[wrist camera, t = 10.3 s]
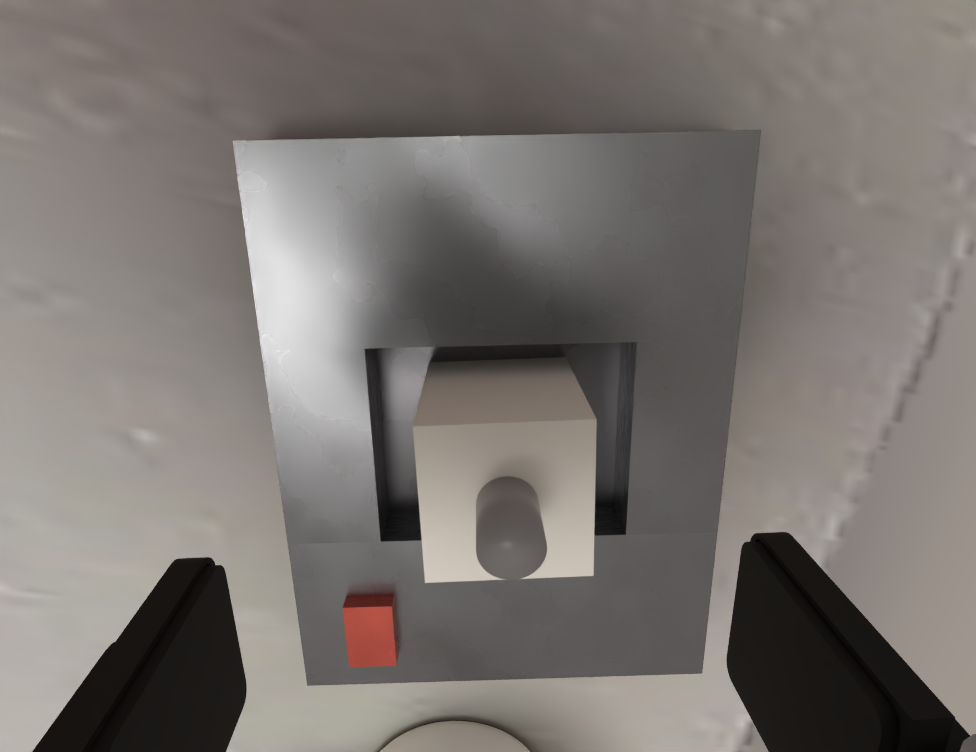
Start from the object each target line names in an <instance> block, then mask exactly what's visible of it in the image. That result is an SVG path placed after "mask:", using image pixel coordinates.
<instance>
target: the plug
mask: <svg viewBox="0 0 976 752" xmlns="http://www.w3.org/2000/svg"><path fill="white" fill-rule="evenodd" d="M596 430H597V419H596V417H595V415H594V413H593V411H592V409H591V407H590V405H589V403H588V401H587V399H586V397H585V395H584V393H583V391H582V389H581V387H580V385H579V383H578V381H577V379H576V377H575V375H574V373H573V371H572V369H571V367H570V365H569V363H568V361H567V359H566V357H553V358H528V359H502V360H477V361H451V362H429V364H428V368H427V372H426V376H425V380H424V384H423V388H422V392H421V396H420V400H419V404H418V408H417V412H416V416H415V420H414V424H413V436H414V449H415V462H416V475H417V487H418V500H419V513H420V526H421V538H422V551H423V564H424V577H425V583H435V582H459V581H483V580H516V579H531V578H555V577H578V576H593V575H594V527H595V478H596Z"/></svg>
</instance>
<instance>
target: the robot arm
mask: <svg viewBox="0 0 976 752" xmlns="http://www.w3.org/2000/svg"><path fill="white" fill-rule="evenodd" d="M727 668H728V673H729V676H730V679H731V681H732V683H733V685H734V687H735V689H736V691H737V692H738V694H739V696H740V698H741V700H742V702H743V704H744V706H745V708H746V709H747V711H748V713H749V715H750V717H751V719H752V721H753V723H754V725H755V726H756V728H757V730H758V732H759V734H760V736H761V738H762V740H763V741H764V743H765V745H766V747H767V749H768V751H769V752H976V734H973V735H972V736H970V735H969V734H968V733H967V732H966V731H965V730H964V728H963V727H962V726H961V725H960V724H959V723H958V722H957V721H956V720H955V717H954V716H953V715H952V714H951V712H950V711H949V710H948V709H947V708H946V707H945V706H944V705H943V704H942V702H941V701H940V700H939V699H938V698H937V697H936V696H935V695H934V693H933V692H932V691H931V690H930V689H929V688H928V687H927V686H926V685H925V683H924V682H923V681H922V680H921V679H920V678H919V677H918V676H917V675H916V673H915V672H914V671H913V670H912V669H911V668H910V667H909V666H908V665H907V663H906V662H905V661H904V660H903V659H902V658H901V657H900V656H899V654H898V653H897V652H896V651H895V650H894V649H893V648H892V647H891V646H890V644H889V643H888V642H887V641H886V640H885V639H884V638H883V637H882V636H881V634H880V633H879V632H878V631H877V630H876V629H875V628H874V627H873V626H872V624H871V623H870V622H869V621H868V620H867V619H866V618H865V617H864V615H863V614H862V613H861V612H860V611H859V610H858V609H857V608H856V607H855V606H854V604H853V603H852V602H851V601H850V600H849V599H848V598H847V597H846V595H845V594H844V593H843V592H842V591H841V590H840V589H839V588H838V587H837V585H835V583H834V582H833V581H832V580H831V579H830V578H829V577H828V575H827V574H826V573H825V572H824V571H823V570H822V569H821V568H820V567H819V565H818V564H817V563H816V562H815V561H814V560H813V559H812V558H811V557H810V555H809V554H808V553H807V552H806V551H805V550H804V549H803V548H802V546H801V545H800V544H799V543H798V542H797V541H796V540H795V539H794V538H793V536H791V535H790V534H789V533H786V532H777V533H756V534H754V535H753V536H752V538H751V540H750V542H745V543H744V544H743V546H742V550H741V557H740V564H739V571H738V579H737V586H736V593H735V601H734V608H733V615H732V623H731V630H730V637H729V645H728V652H727ZM245 698H246V679H245V673H244V668H243V663H242V658H241V652H240V647H239V642H238V636H237V631H236V626H235V621H234V615H233V610H232V605H231V599H230V594H229V589H228V584H227V578H226V573H225V570H224V568H223V566H221V565H216V566H215V563H214V561H213V559H212V558H209V557H206V558H183V559H176V560H175V561H174V562H173V563H172V564H171V565H170V566H169V568H168V569H167V571H166V572H165V573H164V575H163V576H162V578H161V579H160V580H159V582H158V583H157V585H156V586H155V587H154V589H153V590H152V592H151V593H150V594H149V596H148V597H147V599H146V600H145V601H144V603H143V604H142V606H141V607H140V608H139V610H138V611H137V613H136V614H135V615H134V617H133V618H132V620H131V621H130V622H129V624H128V625H127V627H126V628H125V629H124V631H123V632H122V634H121V635H120V636H119V638H118V639H117V641H116V642H114V643H112V644H111V645H110V646H109V647H108V649H107V650H106V651H105V652H104V653H103V655H102V656H101V658H100V659H99V660H98V662H97V663H96V664H95V666H94V667H93V669H92V670H91V671H90V673H89V674H88V676H87V677H86V678H85V680H84V681H83V682H82V684H81V685H80V687H79V688H78V689H77V691H76V692H75V694H74V695H73V696H72V698H71V699H70V700H69V702H68V703H67V705H66V706H65V707H64V709H63V710H62V711H61V713H60V714H59V716H58V717H57V718H56V720H55V721H54V723H53V724H52V725H51V727H50V728H49V729H48V731H47V732H46V734H45V735H44V736H43V738H42V739H41V741H40V742H39V743H38V745H37V746H36V747H35V749H34V750H33V752H226V750H227V747H228V745H229V742H230V740H231V737H232V735H233V732H234V729H235V727H236V724H237V722H238V719H239V717H240V714H241V712H242V709H243V706H244V703H245Z"/></svg>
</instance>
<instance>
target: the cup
mask: <svg viewBox="0 0 976 752" xmlns="http://www.w3.org/2000/svg"><path fill="white" fill-rule="evenodd" d="M380 752H530V751H529V750H528V749H527V748H526V747H525V746H524V745H523V744H522V743H521V742H520V741H518V740H517V739H516V738H514V737H513V736H511V735H509V734H507V733H506V732H504V731H501V730H499V729H497V728H494V727H491V726H488V725H484V724H481V723H475V722H468V721H443V722H436V723H431V724H427V725H423V726H420V727H417V728H415V729H412V730H410V731H408V732H406V733H404V734H402V735H400V736H398V737H397V738H395V739H394V740H393V741H391V742H390V743H389V744H388V745H387V746H385V747H384V748H383V749H382V750H381V751H380Z"/></svg>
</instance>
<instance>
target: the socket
mask: <svg viewBox="0 0 976 752" xmlns="http://www.w3.org/2000/svg"><path fill="white" fill-rule="evenodd" d="M760 134H761V130H742V131H692V132H641V133H591V134H540V135H490V136H439V137H389V138H339V139H288V140H238V141H233V148H234V155H235V163H236V170H237V177H238V184H239V192H240V199H241V206H242V214H243V221H244V228H245V235H246V243H247V250H248V257H249V264H250V272H251V279H252V286H253V293H254V301H255V308H256V315H257V323H258V330H259V337H260V344H261V352H262V359H263V366H264V373H265V381H266V388H267V395H268V402H269V410H270V417H271V424H272V432H273V439H274V446H275V453H276V461H277V468H278V475H279V482H280V490H281V497H282V504H283V512H284V519H285V526H286V533H287V541H288V548H289V555H290V562H291V570H292V577H293V584H294V591H295V599H296V606H297V613H298V621H299V628H300V635H301V642H302V650H303V657H304V664H305V671H306V679H307V686H309V685H342V684H374V683H407V682H439V681H471V680H504V679H536V678H569V677H601V676H634V675H666V674H699V673H702V669H703V660H704V651H705V642H706V632H707V623H708V614H709V605H710V595H711V586H712V577H713V568H714V558H715V549H716V540H717V531H718V522H719V512H720V503H721V494H722V485H723V475H724V466H725V457H726V448H727V438H728V429H729V420H730V411H731V402H732V392H733V383H734V374H735V365H736V355H737V346H738V337H739V328H740V318H741V309H742V300H743V291H744V282H745V272H746V263H747V254H748V245H749V235H750V226H751V217H752V208H753V199H754V189H755V180H756V171H757V162H758V152H759V143H760ZM553 357H566V359H567V361H568V363H569V365H570V367H571V369H572V371H573V373H574V375H575V377H576V379H577V381H578V383H579V385H580V387H581V389H582V391H583V393H584V395H585V397H586V399H587V401H588V403H589V405H590V407H591V409H592V411H593V413H594V415H595V417H596V419H597V430H596V478H595V527H594V575H593V576H578V577H555V578H531V579H516V580H483V581H459V582H435V583H425V577H424V564H423V551H422V538H421V526H420V513H419V500H418V487H417V475H416V462H415V449H414V436H413V424H414V420H415V416H416V412H417V408H418V404H419V400H420V396H421V392H422V388H423V384H424V380H425V376H426V372H427V368H428V364H429V362H451V361H477V360H502V359H528V358H553Z"/></svg>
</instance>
